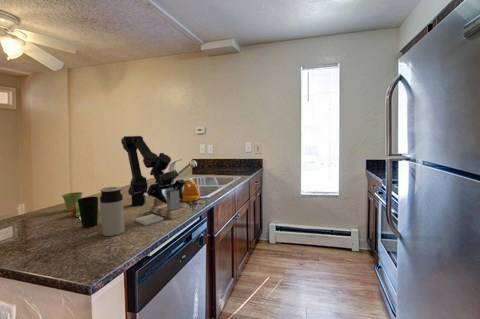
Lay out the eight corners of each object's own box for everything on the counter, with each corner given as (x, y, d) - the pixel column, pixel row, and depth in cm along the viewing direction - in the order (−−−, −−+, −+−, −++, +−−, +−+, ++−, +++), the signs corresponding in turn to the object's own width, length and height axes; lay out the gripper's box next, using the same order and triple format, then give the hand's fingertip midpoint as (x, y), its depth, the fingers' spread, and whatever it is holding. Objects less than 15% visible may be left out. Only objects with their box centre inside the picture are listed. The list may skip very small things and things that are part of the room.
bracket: (178, 201, 152) (177, 181, 150) (183, 198, 159) (182, 179, 158) (196, 201, 150) (195, 181, 149) (200, 198, 157) (199, 179, 156)
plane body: (149, 211, 132) (148, 198, 131) (161, 208, 137) (161, 196, 137) (172, 218, 119) (171, 205, 118) (184, 215, 124) (184, 201, 124)
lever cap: (166, 209, 123) (165, 191, 123) (175, 207, 127) (174, 189, 126) (170, 211, 121) (169, 192, 120) (179, 208, 125) (178, 190, 124)
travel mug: (110, 238, 97) (106, 191, 96) (98, 234, 102) (95, 189, 100) (128, 231, 104) (126, 187, 103) (117, 228, 108) (114, 185, 107)
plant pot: (58, 211, 135) (57, 195, 135) (76, 206, 144) (74, 191, 143) (71, 213, 132) (69, 196, 131) (87, 208, 141) (86, 192, 140)
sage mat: (134, 220, 117) (134, 218, 117) (152, 216, 124) (152, 214, 124) (145, 225, 111) (144, 222, 111) (163, 219, 118) (163, 217, 118)
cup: (78, 230, 107) (76, 201, 106) (80, 224, 113) (78, 198, 112) (99, 226, 110) (97, 199, 109) (100, 221, 117) (98, 195, 116)
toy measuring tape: (86, 211, 135) (85, 199, 134) (90, 220, 119) (89, 206, 119) (72, 213, 131) (71, 201, 131) (74, 223, 116) (73, 209, 115)
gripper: (148, 167, 118) (163, 194, 112) (182, 163, 132) (197, 187, 126) (141, 182, 124) (154, 209, 117) (173, 177, 138) (187, 200, 131)
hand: (174, 201), depth 123 cm, fingers open, 9 cm apart
